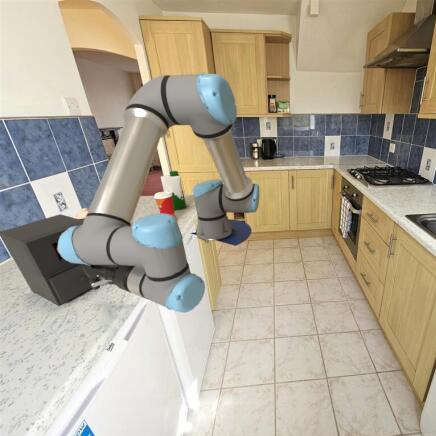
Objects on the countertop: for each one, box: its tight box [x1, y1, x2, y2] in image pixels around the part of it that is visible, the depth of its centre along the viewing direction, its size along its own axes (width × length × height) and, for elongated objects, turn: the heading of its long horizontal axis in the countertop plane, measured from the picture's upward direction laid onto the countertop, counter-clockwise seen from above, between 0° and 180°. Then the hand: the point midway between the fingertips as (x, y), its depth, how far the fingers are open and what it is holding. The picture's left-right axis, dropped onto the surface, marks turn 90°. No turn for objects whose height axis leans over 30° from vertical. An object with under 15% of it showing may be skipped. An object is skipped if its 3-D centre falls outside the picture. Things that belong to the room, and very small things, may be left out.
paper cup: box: [153, 191, 176, 218], centre depth 116 cm, size 8×8×14 cm
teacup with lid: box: [72, 207, 89, 220], centre depth 106 cm, size 12×9×12 cm
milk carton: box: [160, 170, 187, 212], centre depth 131 cm, size 9×9×20 cm
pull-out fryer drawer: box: [49, 264, 106, 304], centre depth 72 cm, size 16×12×8 cm
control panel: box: [0, 213, 84, 277], centre depth 69 cm, size 15×14×10 cm
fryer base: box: [16, 263, 92, 307], centre depth 73 cm, size 16×14×10 cm
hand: (82, 255), depth 63 cm, fingers closed
